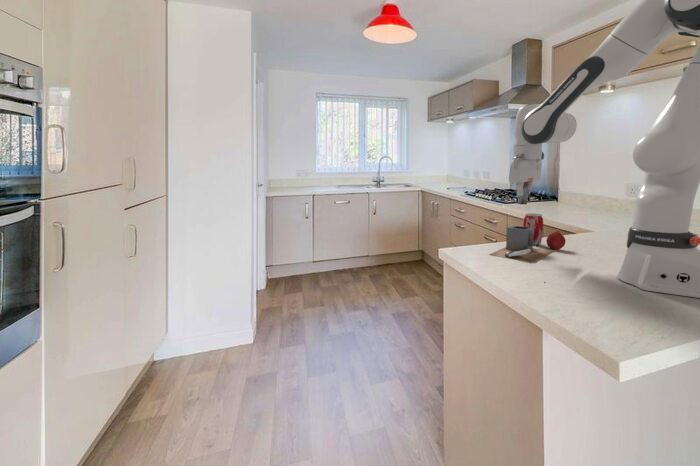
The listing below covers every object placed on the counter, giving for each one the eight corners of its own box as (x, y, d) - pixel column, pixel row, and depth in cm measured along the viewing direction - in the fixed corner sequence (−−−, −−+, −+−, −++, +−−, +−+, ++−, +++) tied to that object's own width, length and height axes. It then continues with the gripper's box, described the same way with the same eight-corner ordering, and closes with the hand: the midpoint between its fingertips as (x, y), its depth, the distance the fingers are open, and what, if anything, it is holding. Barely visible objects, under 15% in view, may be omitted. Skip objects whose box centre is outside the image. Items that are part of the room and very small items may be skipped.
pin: (533, 203, 121) (536, 177, 119) (528, 205, 117) (530, 178, 115) (516, 202, 125) (518, 177, 123) (510, 204, 121) (512, 178, 119)
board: (554, 253, 121) (554, 251, 121) (535, 266, 107) (535, 262, 107) (510, 247, 132) (510, 244, 131) (488, 257, 118) (488, 254, 118)
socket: (532, 249, 124) (534, 227, 122) (526, 252, 120) (528, 230, 118) (511, 246, 129) (513, 225, 127) (505, 249, 125) (507, 227, 123)
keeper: (531, 251, 113) (530, 247, 113) (525, 253, 110) (524, 250, 110) (511, 254, 118) (510, 251, 118) (505, 257, 115) (504, 253, 115)
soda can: (544, 246, 133) (547, 215, 130) (526, 246, 133) (528, 215, 130) (535, 242, 140) (538, 213, 137) (517, 242, 140) (520, 213, 137)
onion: (547, 252, 123) (549, 230, 122) (544, 249, 129) (546, 227, 127) (566, 253, 121) (568, 231, 120) (561, 249, 127) (563, 228, 125)
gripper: (525, 153, 108) (522, 197, 111) (546, 154, 122) (542, 193, 125) (505, 154, 113) (502, 196, 115) (527, 155, 127) (524, 192, 130)
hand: (523, 195), depth 120 cm, fingers closed on pin, 5 cm apart
